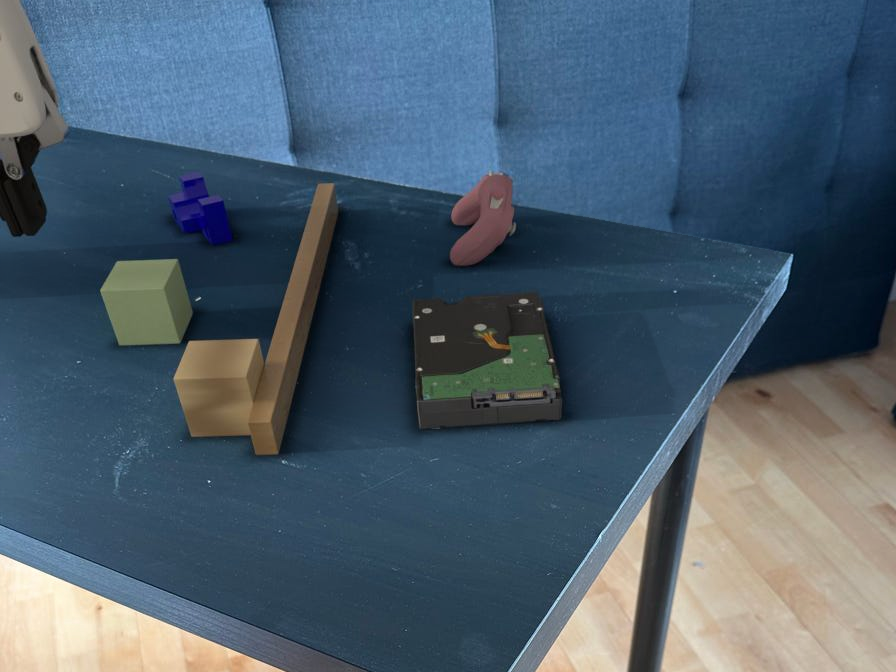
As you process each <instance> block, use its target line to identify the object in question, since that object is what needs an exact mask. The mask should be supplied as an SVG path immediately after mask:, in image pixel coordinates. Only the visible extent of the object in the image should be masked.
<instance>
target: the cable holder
mask: <svg viewBox="0 0 896 672" xmlns="http://www.w3.org/2000/svg"><path fill="white" fill-rule="evenodd" d="M178 180H179V183H180V187H181V190H182V192H178V193H174V194H169V195H167V198H168V201H169V206H170V208H171V213H172V216H173V219H174V220H175V222H176V224H177V225H178V226H179V227H180V229H181V230H182V231H183V233H184V234H189V233H194V232H197V231H201V233H202V235H204V237H205V238H206V239H207V241H208V242H209V244H211V246H215V245H216V246H217V245H220V244H225V243H227V242H232V241H233V236H232V231H231V228H230V227H231V226H230V224H229V218H228V213H227V209H226V206H225V201H224V199H223V198H222V197H221V196H220V194H216V195H212V196H210V194H209V192H208V189H207V185H206V182H205V178H204V176H203V175H202V173H201V172H200V171H196V172H192V173H187V174H183V175H179V176H178Z"/></svg>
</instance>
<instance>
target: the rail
mask: <svg viewBox="0 0 896 672" xmlns="http://www.w3.org/2000/svg"><path fill="white" fill-rule="evenodd" d="M337 198H338V197H337V192H336V185H335V183H334V182H329V183H317V187H316V190H315V193H314V197H313V200H312V202H311V206H310V211H309V214H308V217H307V220H306V223H305V227H304V231H303V233H302V237H301V241H300V244H299V246H298V250H297V254H296V258H295V261H294V264H293V266H292V267H293V268H292V271H291V274H290V278H289V282H288V283H287V288H286V291H285V294H284V298H283V301H282V304H281V307H280V311H279V315H278V318H277V320H276V321H277V322H276V325H275V328H274V331H273V335H272V339H271V341H270V345H269V347H268V348H269V349H268V352H267V355H266V358H265V362H264V368H263V372H262V375H261V379H260V382H259V385H258V389H257V392H256V395H255V399H254V402H253V406H252V409H251V412H250V416H249V419H248V426H249V430H250V434H251V435H250V438H251V442H252V445H253V448H254V453H255V455H256V456H262V455H265V456H267V455H279V453H280V450H281V445H282V441H283V437H284V433H285V429H286V426H287V422H288V418H289V414H290V410H291V405H292V401H293V397H294V394H295V389H296V385H297V381H298V377H299V373H300V369H301V365H302V361H303V357H304V352H305V349H306V344H307V341H308V336H309V332H310V328H311V324H312V321H313V316H314V312H315V308H316V304H317V300H318V296H319V293H320V287H321V284H322V280H323V276H324V272H325V268H326V263H327V260H328V255H329V253H330V247H331V243H332V239H333V235H334V231H335V227H336V223H337V220H338V216H339V206H338V199H337Z"/></svg>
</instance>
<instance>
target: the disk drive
mask: <svg viewBox="0 0 896 672" xmlns="http://www.w3.org/2000/svg"><path fill="white" fill-rule="evenodd" d="M411 311H412V325H413V341H414V342H413V344H414V348H413V349H414V369H415V380H414V382H415V385H414V387H415V394H416V395H415V396H416V406H417V417H418V426H419V429H420V430H427V429H433V430H434V429H450V428H451V429H452V428H461V427H462V428H465V427H480V426H492V425H493V426H494V425H506V424H522V423H529V422H530V423H536V422H541V421H542V422H544V421H545V422H547V421H551V420H554V421H559V420H560V419H562V410H563V409H562V407H563V396H562V391H561V385H560V372H559V367H558V366H557V362H556V358H555V354H554V351H553V345H552V342H551V338H550V337H551V336H550V334H549V328H548V325H547V320H546V316H545V311H544V303H543V302H542V299H541V296H540V292H539V291H527V292H515V293H503V294H502V293H498V294H481V295H467V296H466V297H464V298H462V300H459V301H457V302H454V303H453V304H451V303H450V302H447V301H443V299H442V298H441V297H435V298H420V299H419V298H418V299H413V300H412V309H411Z"/></svg>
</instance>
